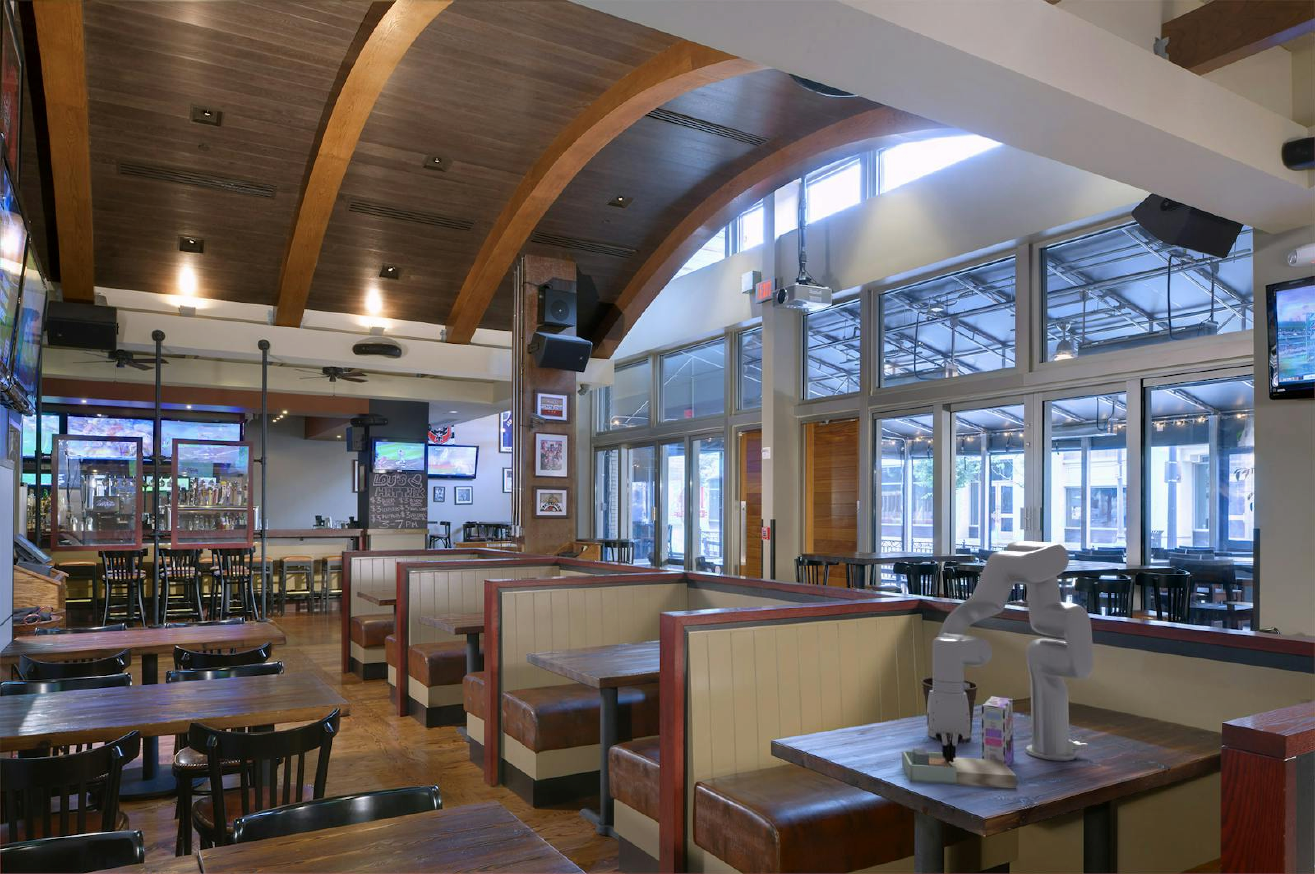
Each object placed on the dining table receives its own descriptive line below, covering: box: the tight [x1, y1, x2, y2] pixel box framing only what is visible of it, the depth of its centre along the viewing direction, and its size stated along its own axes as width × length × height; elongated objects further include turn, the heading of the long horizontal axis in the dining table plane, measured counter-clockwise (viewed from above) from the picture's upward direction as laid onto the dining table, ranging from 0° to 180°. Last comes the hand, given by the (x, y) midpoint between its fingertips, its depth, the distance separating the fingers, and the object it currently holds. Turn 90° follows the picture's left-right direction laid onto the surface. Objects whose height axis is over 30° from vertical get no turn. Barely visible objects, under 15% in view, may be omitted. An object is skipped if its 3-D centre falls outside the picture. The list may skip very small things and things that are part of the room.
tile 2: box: [929, 758, 950, 767], centre depth 213 cm, size 5×5×3 cm
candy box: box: [981, 695, 1015, 768], centre depth 225 cm, size 14×6×16 cm, turn 148°
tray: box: [901, 750, 958, 786], centre depth 214 cm, size 11×13×4 cm
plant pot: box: [920, 676, 979, 744], centre depth 250 cm, size 16×16×16 cm
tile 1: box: [912, 748, 929, 766], centre depth 214 cm, size 5×5×3 cm
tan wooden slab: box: [948, 756, 1017, 789], centre depth 212 cm, size 14×13×3 cm
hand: (949, 760), depth 213 cm, fingers closed
